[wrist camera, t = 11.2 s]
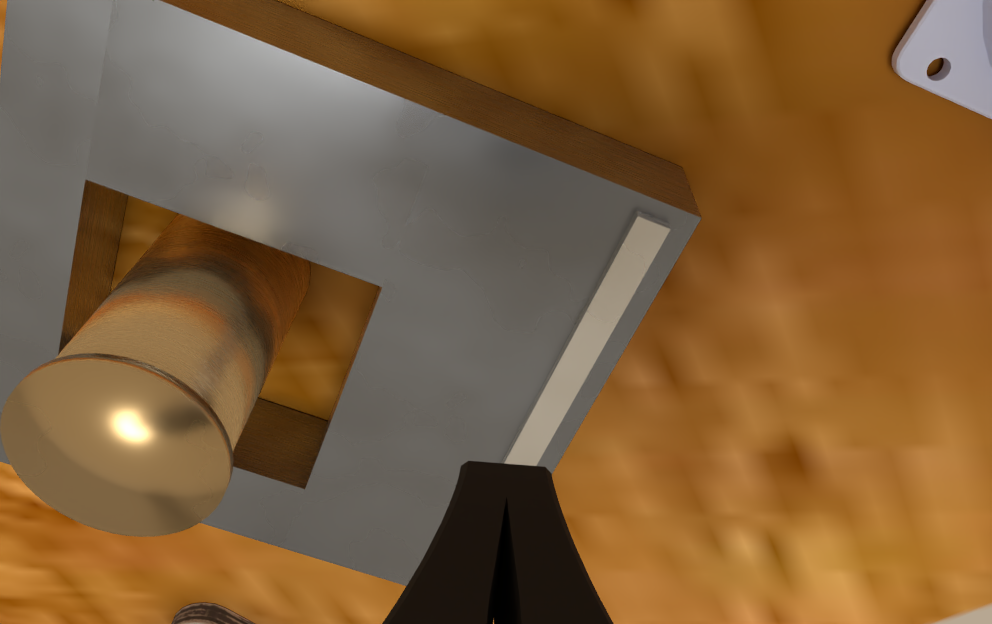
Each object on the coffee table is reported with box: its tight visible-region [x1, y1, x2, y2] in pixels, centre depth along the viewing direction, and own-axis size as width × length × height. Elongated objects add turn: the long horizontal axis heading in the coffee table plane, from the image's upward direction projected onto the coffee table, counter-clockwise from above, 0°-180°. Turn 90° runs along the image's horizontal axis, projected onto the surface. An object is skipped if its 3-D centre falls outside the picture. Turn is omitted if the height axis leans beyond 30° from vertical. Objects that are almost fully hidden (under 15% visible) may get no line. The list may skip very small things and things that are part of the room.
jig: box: [0, 0, 701, 586], centre depth 22 cm, size 15×14×3 cm
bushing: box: [0, 214, 311, 537], centre depth 20 cm, size 4×4×8 cm
